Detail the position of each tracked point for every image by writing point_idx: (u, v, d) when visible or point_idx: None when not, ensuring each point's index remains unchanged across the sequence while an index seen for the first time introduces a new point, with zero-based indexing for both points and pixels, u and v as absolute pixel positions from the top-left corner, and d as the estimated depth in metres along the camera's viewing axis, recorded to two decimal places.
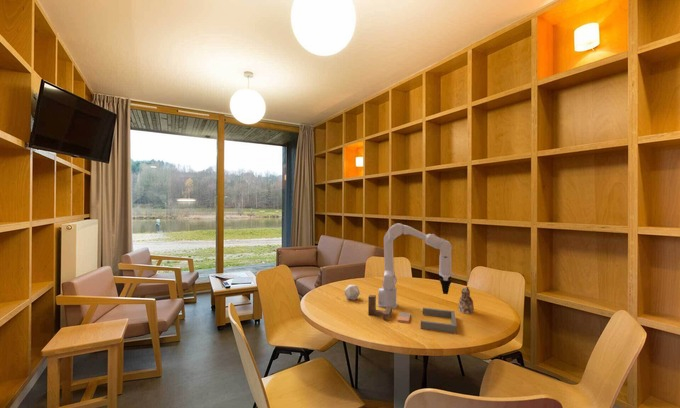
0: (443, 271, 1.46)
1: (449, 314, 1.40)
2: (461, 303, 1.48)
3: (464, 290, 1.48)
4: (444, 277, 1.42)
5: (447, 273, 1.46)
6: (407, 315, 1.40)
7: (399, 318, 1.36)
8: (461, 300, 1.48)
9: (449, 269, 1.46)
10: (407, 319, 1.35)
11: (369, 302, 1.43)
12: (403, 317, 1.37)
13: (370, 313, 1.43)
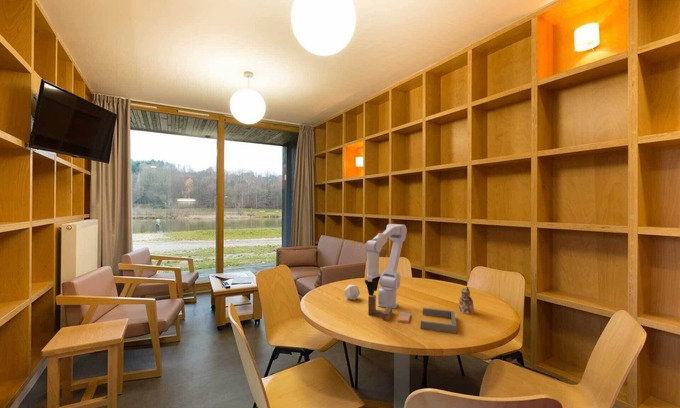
0: (370, 271, 1.42)
1: (449, 314, 1.40)
2: (461, 303, 1.48)
3: (464, 290, 1.48)
4: (368, 278, 1.38)
5: (373, 274, 1.41)
6: (407, 315, 1.40)
7: (399, 318, 1.36)
8: (461, 300, 1.48)
9: (375, 270, 1.42)
10: (407, 319, 1.35)
11: (369, 302, 1.43)
12: (403, 317, 1.37)
13: (370, 313, 1.43)
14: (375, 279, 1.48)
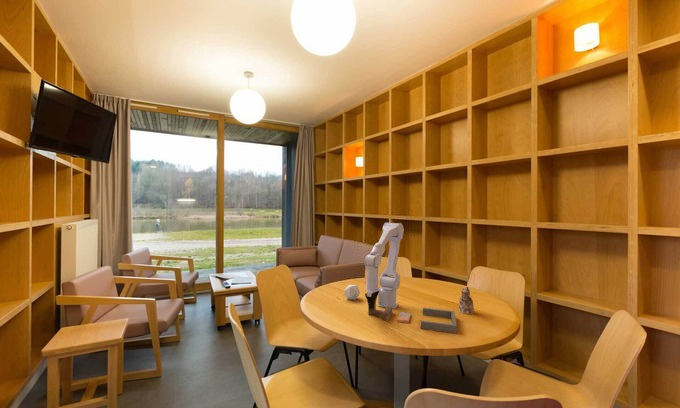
0: (369, 286, 1.42)
1: (449, 314, 1.40)
2: (461, 303, 1.48)
3: (464, 290, 1.48)
4: (367, 293, 1.37)
5: (372, 288, 1.41)
6: (407, 315, 1.40)
7: (399, 318, 1.36)
8: (461, 300, 1.48)
9: (375, 284, 1.42)
10: (407, 319, 1.35)
11: None
12: (403, 317, 1.37)
13: (370, 313, 1.43)
14: (373, 294, 1.46)
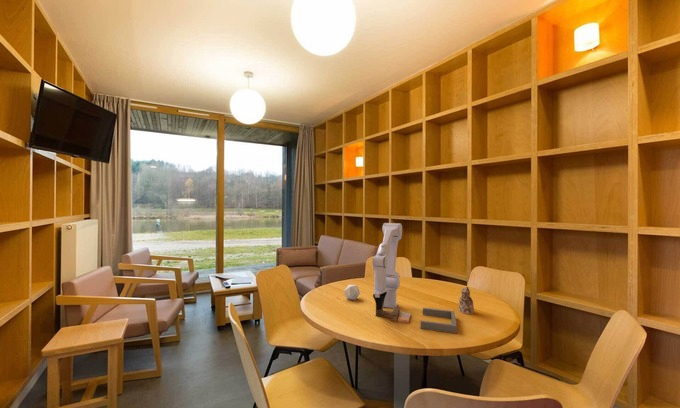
0: (377, 287, 1.41)
1: (449, 314, 1.40)
2: (461, 303, 1.48)
3: (464, 290, 1.48)
4: (375, 294, 1.36)
5: (380, 289, 1.40)
6: (407, 315, 1.40)
7: (399, 318, 1.36)
8: (461, 300, 1.48)
9: (383, 285, 1.40)
10: (407, 319, 1.35)
11: None
12: (403, 317, 1.37)
13: (377, 314, 1.42)
14: (381, 295, 1.44)
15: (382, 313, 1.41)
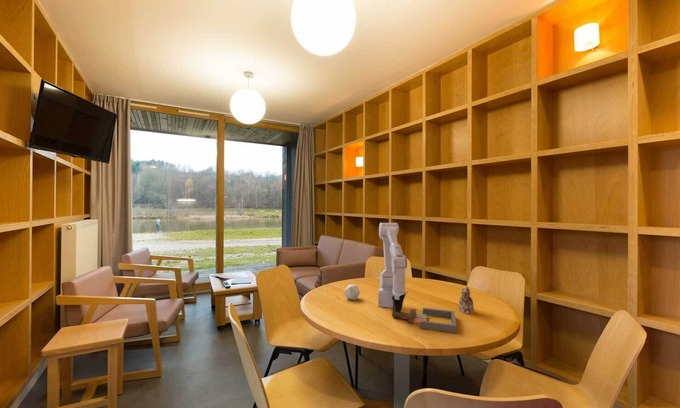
0: (396, 288, 1.38)
1: (449, 314, 1.40)
2: (461, 303, 1.48)
3: (464, 290, 1.48)
4: (395, 296, 1.33)
5: (400, 291, 1.37)
6: (424, 316, 1.38)
7: (416, 320, 1.33)
8: (461, 300, 1.48)
9: (402, 287, 1.37)
10: None
11: None
12: (419, 319, 1.34)
13: (394, 315, 1.39)
14: (400, 297, 1.41)
15: (399, 314, 1.38)
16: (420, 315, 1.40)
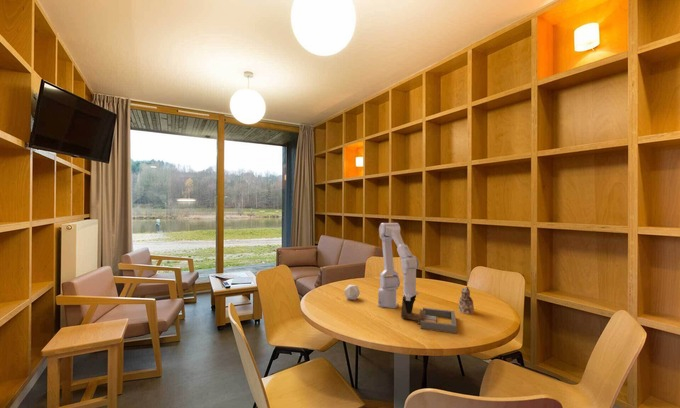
0: (407, 289, 1.36)
1: (449, 314, 1.40)
2: (461, 303, 1.48)
3: (464, 290, 1.48)
4: (406, 297, 1.32)
5: (411, 292, 1.36)
6: (433, 318, 1.37)
7: None
8: (461, 300, 1.48)
9: (413, 288, 1.36)
10: None
11: (403, 304, 1.38)
12: None
13: (403, 315, 1.38)
14: (411, 298, 1.40)
15: (408, 315, 1.37)
16: (429, 317, 1.39)
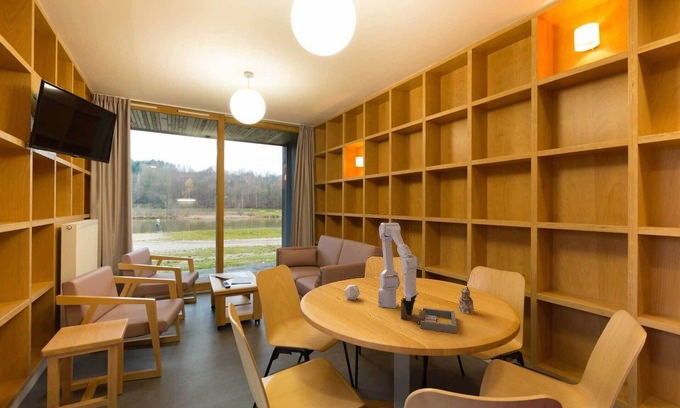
0: (407, 289, 1.36)
1: (449, 314, 1.40)
2: (461, 303, 1.48)
3: (464, 290, 1.48)
4: (407, 297, 1.32)
5: (411, 292, 1.36)
6: (433, 318, 1.37)
7: None
8: (461, 300, 1.48)
9: (413, 288, 1.36)
10: None
11: (402, 306, 1.38)
12: None
13: (403, 317, 1.38)
14: (411, 297, 1.41)
15: (408, 316, 1.37)
16: (429, 316, 1.39)
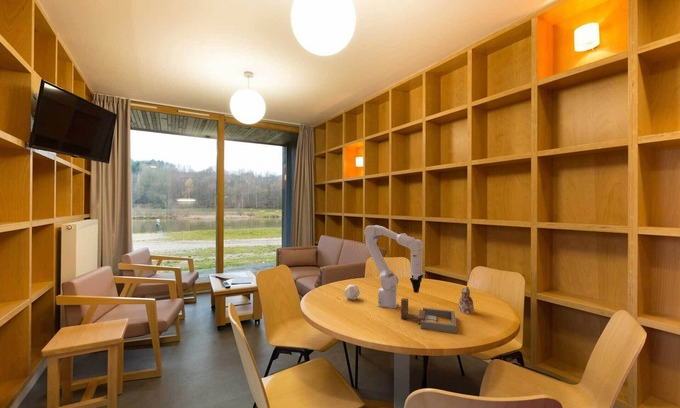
0: (414, 270, 1.47)
1: (449, 314, 1.40)
2: (461, 303, 1.48)
3: (464, 290, 1.48)
4: (414, 276, 1.42)
5: (418, 272, 1.46)
6: (433, 318, 1.37)
7: None
8: (461, 300, 1.48)
9: (420, 268, 1.47)
10: None
11: (402, 306, 1.38)
12: None
13: (403, 317, 1.38)
14: (418, 277, 1.52)
15: (408, 316, 1.37)
16: (429, 316, 1.39)
